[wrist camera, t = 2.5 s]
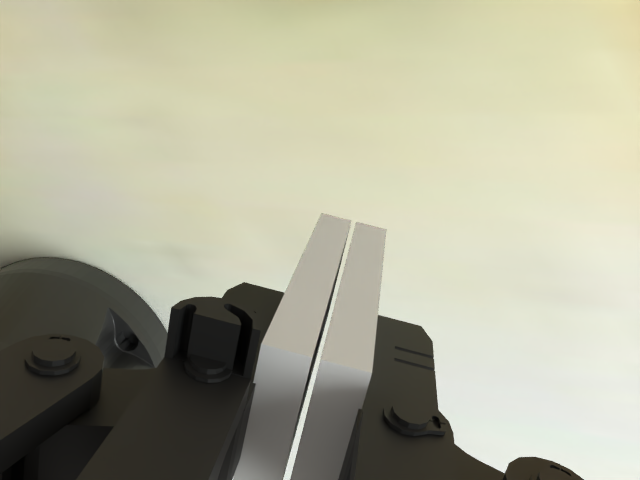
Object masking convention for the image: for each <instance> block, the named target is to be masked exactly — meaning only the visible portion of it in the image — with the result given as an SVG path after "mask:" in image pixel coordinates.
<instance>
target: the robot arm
mask: <svg viewBox="0 0 640 480" xmlns="http://www.w3.org/2000/svg"><path fill="white" fill-rule="evenodd" d="M350 224H351V220H347V219H343V218H339V217H335V216H331V215H327V214H323V213H321V215H320V218H319V220H318V222H317V224H316V226H315V228H314V231H313V233H312V235H311V237H310V239H309V241H308V244H307V246H306V248H305V250H304V252H303V254H302V257H301V259H300V261H299V263H298V265H297V267H296V270H295V272H294V274H293V276H292V278H291V280H290V283H289V285H288V287H287V289H286V291H285V293H283V292H280V291H276V290H272V289H268V288H264V287H260V286H256V285H252V284H249V283H245V282H244V283H242V284H240V285H237V286H235V287H233V288H231V289H229V290H227V291H226V293H225V294H224V296H223V297H222V298H216V297H194V298H190V299H186V300H183V301H180V302H179V303H177V304H176V305H174V306H173V307H172V308H171V314H170V321H169V328H168V333H167V331H166V330H165V328H164V326H163V324H162V323H161V321H160V320H159V318H158V317H157V316H156V314H155V313H154V312H153V310H152V309H151V308H150V307H149V306H148V305H147V303H146V302H145V301H144V300H143V299H142V298H141V297H140V296H138V295H137V294H136V293H135V292H134V291H133V290H131V289H130V288H129V287H128V286H126V285H125V284H124V283H122V282H121V281H119V280H118V279H116V278H114V277H113V276H111V275H109V274H107V273H105V272H103V271H101V270H99V269H97V268H94V267H92V266H89V265H86V264H83V263H80V262H76V261H71V260H66V259H59V258H35V259H28V260H24V261H19V262H16V263H13V264H11V265H8V266H6V267H4V268H2V269H0V480H232V479H233V480H283V477H284V474H285V470H286V466H287V463H288V459H289V456H290V452H291V448H292V445H293V441H294V437H295V434H296V430H297V426H298V423H299V419H300V415H301V412H302V408H303V404H304V401H305V397H306V393H307V390H308V386H309V382H310V379H311V375H312V372H313V368H314V364H315V361H316V357H317V353H318V350H319V346H320V342H321V339H322V335H323V331H324V328H325V324H326V320H327V317H328V313H329V309H330V305H331V301H332V297H333V293H334V289H335V285H336V281H337V276H338V272H339V268H340V264H341V260H342V256H343V252H344V248H345V244H346V240H347V236H348V232H349V228H350ZM385 237H386V229H383V228H379V227H375V226H371V225H367V224H363V223H359V222H356V225H355V229H354V232H353V236H352V240H351V244H350V248H349V252H348V256H347V259H346V263H345V267H344V271H343V275H342V279H341V283H340V286H339V290H338V294H337V298H336V302H335V306H334V310H333V313H332V317H331V321H330V325H329V329H328V333H327V337H326V340H325V344H324V348H323V352H322V356H321V360H320V364H319V368H318V372H317V376H316V380H315V384H314V388H313V391H312V395H311V399H310V403H309V407H308V411H307V415H306V419H305V423H304V427H303V431H302V435H301V439H300V443H299V447H298V451H297V455H296V459H295V463H294V467H293V471H292V475H291V479H290V480H584V479H582V478H581V477H580V476H578V475H577V474H575V473H574V472H573V471H571V470H570V469H568V468H566V467H564V466H561V465H560V464H558V463H555V462H553V461H549V460H545V459H541V458H537V457H519V458H518V459H516V460H514V461H512V462H510V463H509V465H508V467H507V470H506V472H505V473H503V472H501V471H499V470H497V469H495V468H493V467H491V466H489V465H487V464H485V463H483V462H481V461H479V460H477V459H475V458H474V457H472V456H470V455H468V454H467V453H465V452H464V451H463V450H462V449H460V448H459V447H458V446H456V445H455V444H454V437H453V431H452V429H451V426H450V424H449V421H448V420H447V419H446V418H445V417H444V416H443V415H442V414H441V412H440V411H439V410H438V402H437V390H436V379H435V371H434V369H435V367H434V359H433V357H434V355H433V343H432V340H431V339H430V338H429V336H428V335H427V333H426V332H425V331H424V329H423V328H422V327H421V326H418V325H415V324H411V323H407V322H403V321H399V320H395V319H391V318H388V317H384V316H380V315H378V308H379V298H380V288H381V278H382V268H383V258H384V248H385ZM233 476H234V477H233Z"/></svg>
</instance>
